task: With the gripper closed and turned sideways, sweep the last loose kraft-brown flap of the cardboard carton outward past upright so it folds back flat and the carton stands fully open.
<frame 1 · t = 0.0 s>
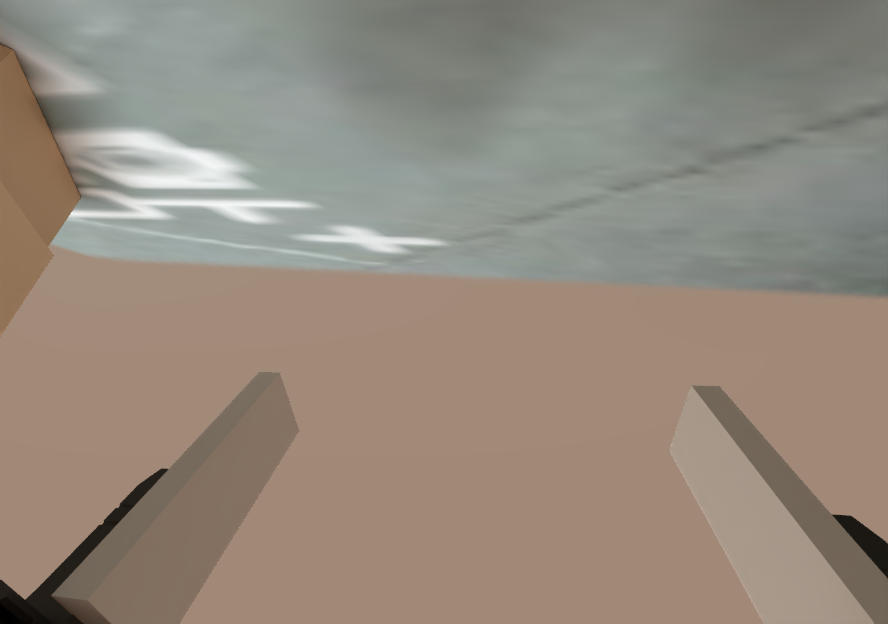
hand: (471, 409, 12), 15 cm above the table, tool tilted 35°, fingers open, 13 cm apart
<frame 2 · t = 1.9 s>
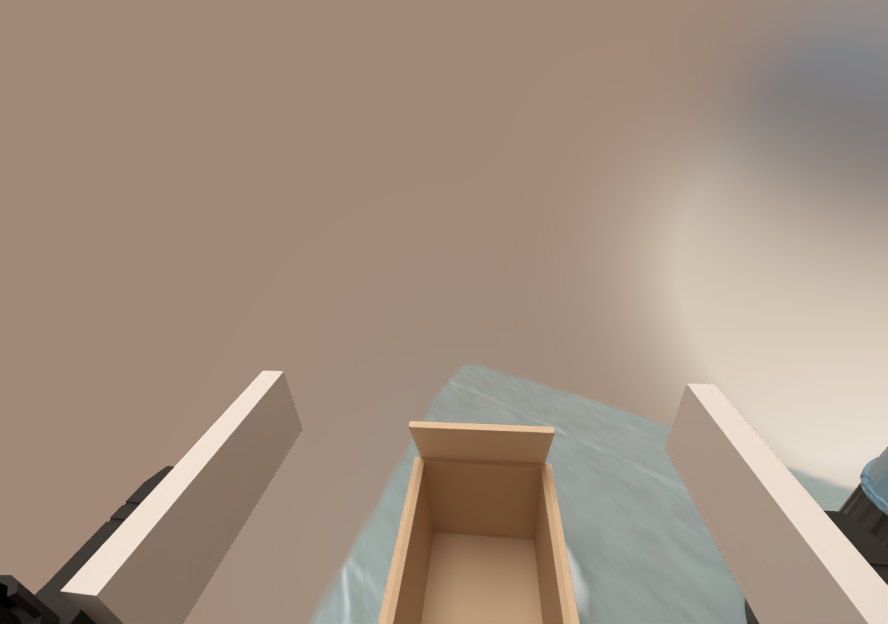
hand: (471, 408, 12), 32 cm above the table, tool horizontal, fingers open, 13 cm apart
flap: (480, 443, 32), point 15 cm above the table, hinge at 70.0°
carton: (481, 622, 33), on the table
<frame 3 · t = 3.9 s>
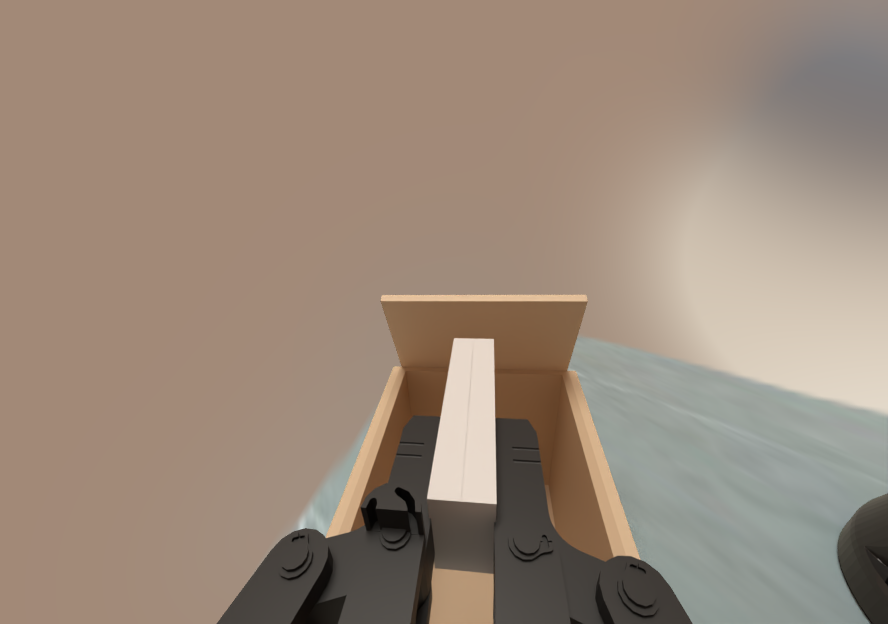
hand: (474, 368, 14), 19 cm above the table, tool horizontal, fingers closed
flap: (481, 335, 23), point 15 cm above the table, hinge at 70.0°
carton: (480, 583, 24), on the table
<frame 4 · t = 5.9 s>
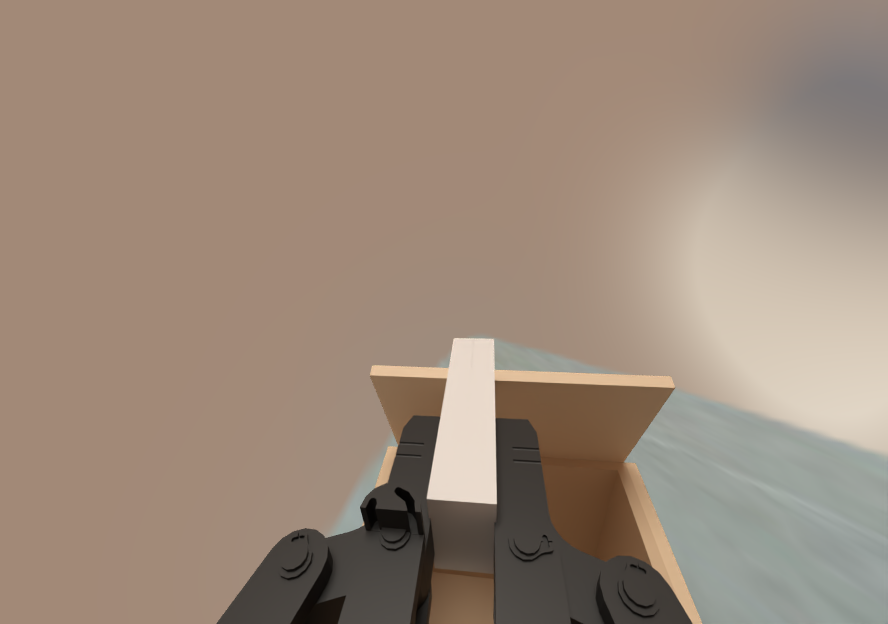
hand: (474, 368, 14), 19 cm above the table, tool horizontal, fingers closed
flap: (509, 418, 17), point 15 cm above the table, hinge at 72.2°, touching gripper
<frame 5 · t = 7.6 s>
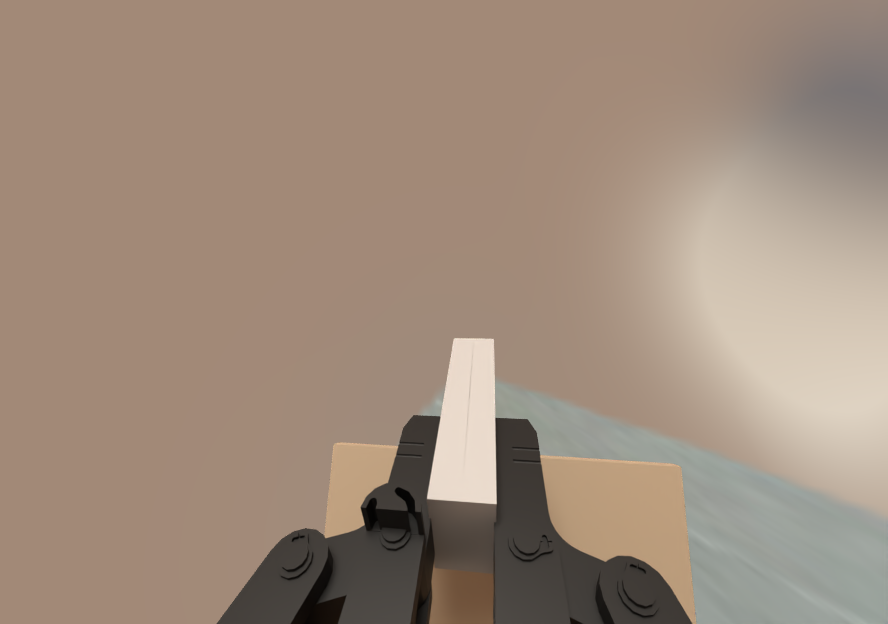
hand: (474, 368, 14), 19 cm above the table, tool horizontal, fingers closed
flap: (495, 566, 12), point 14 cm above the table, hinge at 130.5°, touching carton
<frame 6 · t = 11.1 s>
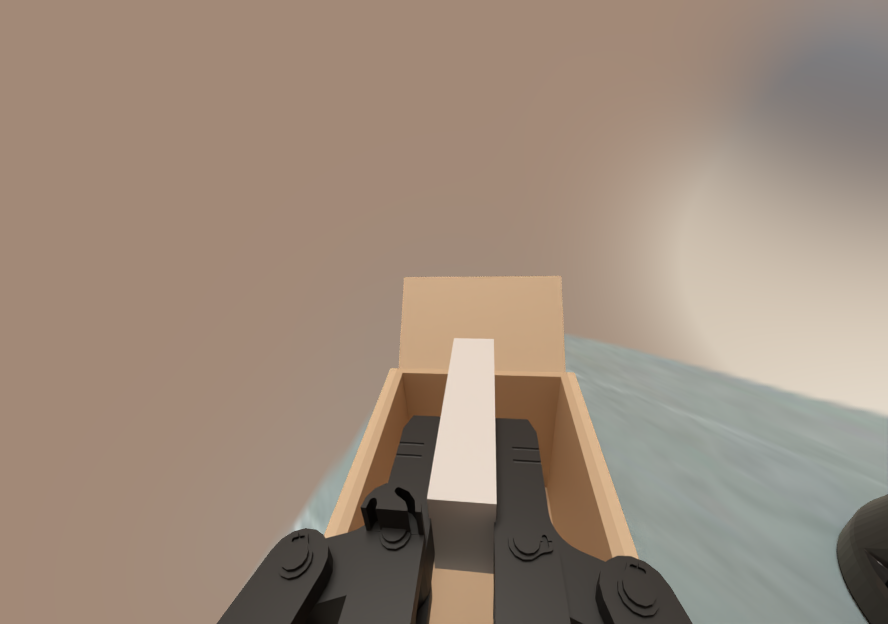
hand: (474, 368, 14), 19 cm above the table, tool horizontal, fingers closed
flap: (480, 322, 26), point 14 cm above the table, hinge at 130.8°, touching carton
carton: (478, 588, 24), on the table
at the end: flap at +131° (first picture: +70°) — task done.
